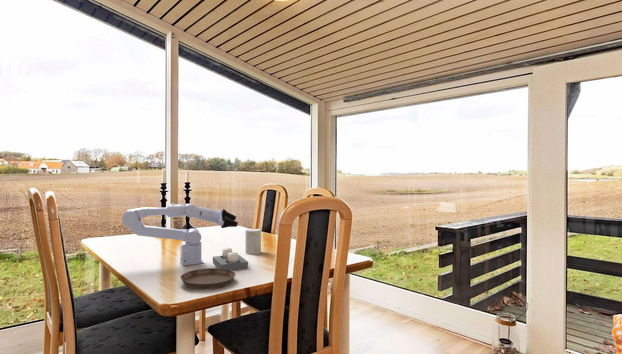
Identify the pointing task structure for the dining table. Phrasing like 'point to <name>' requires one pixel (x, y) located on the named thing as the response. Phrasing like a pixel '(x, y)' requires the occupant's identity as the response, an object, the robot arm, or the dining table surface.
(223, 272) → the plant saucer
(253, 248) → the cup
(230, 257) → the near knob
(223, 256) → the far knob
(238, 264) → the slate mount
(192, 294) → the dining table surface
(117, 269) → the dining table surface
